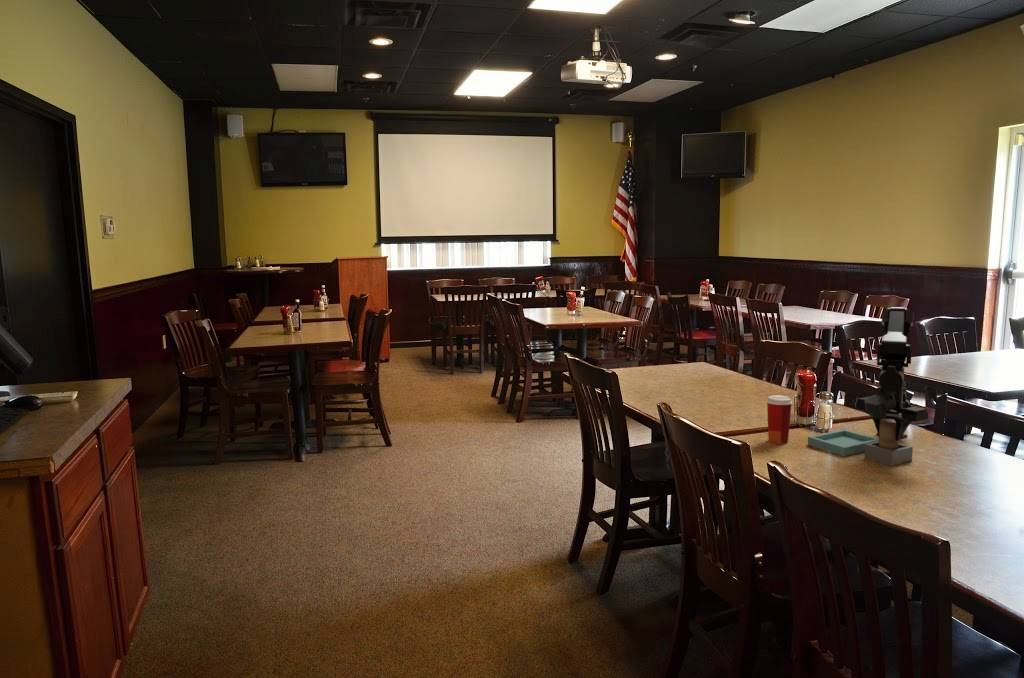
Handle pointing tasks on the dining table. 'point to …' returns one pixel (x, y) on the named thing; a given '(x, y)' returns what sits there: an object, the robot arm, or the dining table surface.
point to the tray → (841, 442)
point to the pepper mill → (888, 434)
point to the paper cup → (778, 418)
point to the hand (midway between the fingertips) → (889, 438)
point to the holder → (888, 453)
